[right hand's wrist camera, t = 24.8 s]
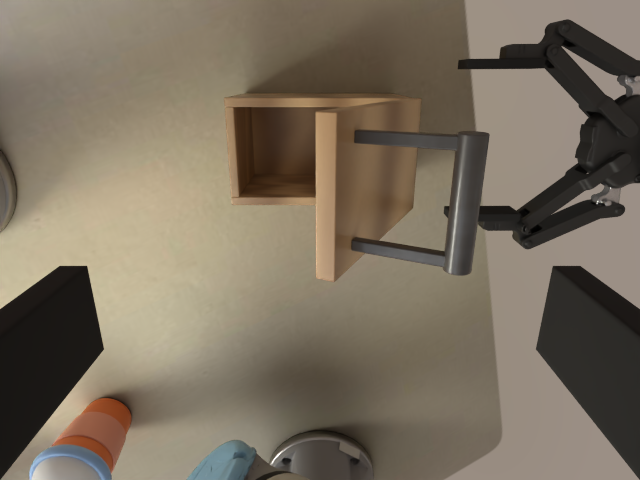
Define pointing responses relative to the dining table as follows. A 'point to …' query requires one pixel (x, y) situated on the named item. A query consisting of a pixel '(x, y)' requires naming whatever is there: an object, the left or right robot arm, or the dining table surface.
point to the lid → (388, 186)
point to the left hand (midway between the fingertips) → (454, 143)
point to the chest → (279, 143)
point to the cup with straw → (86, 445)
